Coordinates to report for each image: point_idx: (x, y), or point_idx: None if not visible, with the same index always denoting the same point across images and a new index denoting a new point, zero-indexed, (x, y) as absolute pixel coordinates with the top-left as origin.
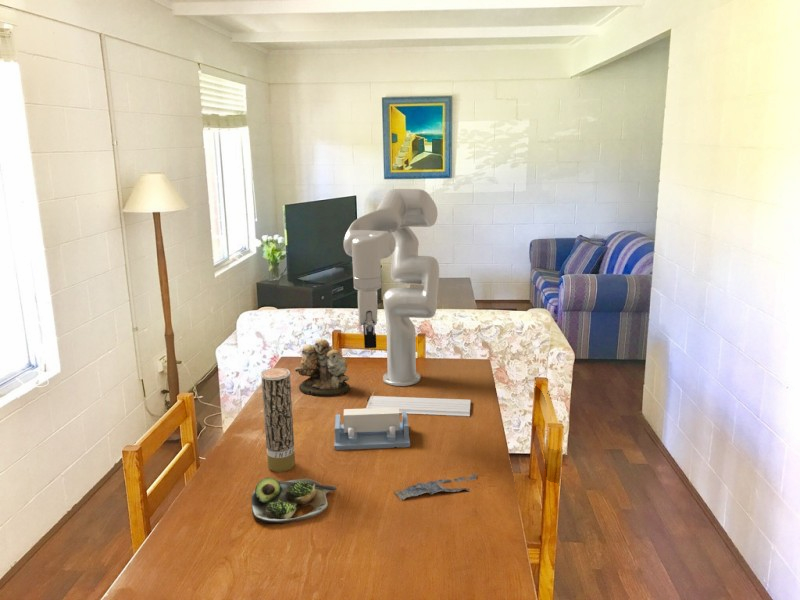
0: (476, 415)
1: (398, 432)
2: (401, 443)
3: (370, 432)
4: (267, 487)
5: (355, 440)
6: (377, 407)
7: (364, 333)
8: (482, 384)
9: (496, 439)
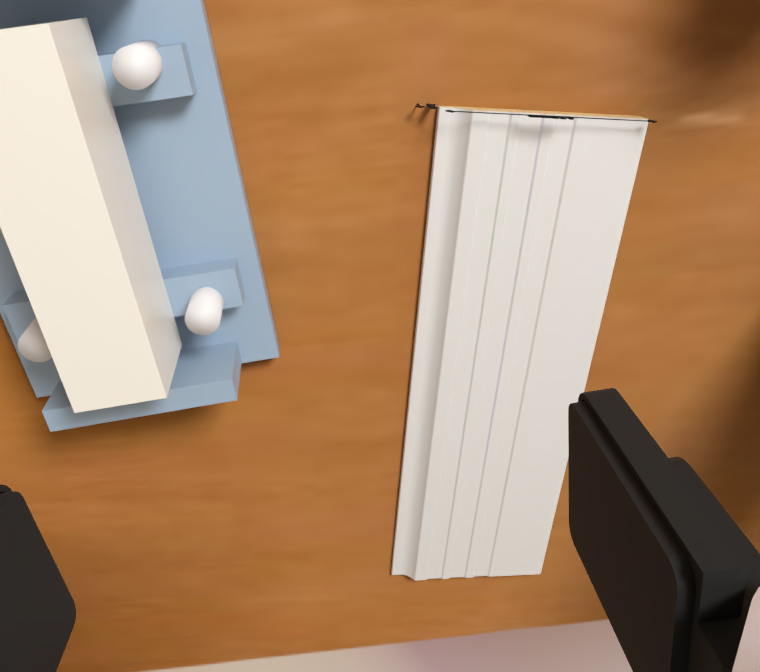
0: (404, 591)
1: None
2: (21, 359)
3: None
4: None
5: None
6: (473, 181)
7: (584, 425)
8: None
9: (192, 657)
